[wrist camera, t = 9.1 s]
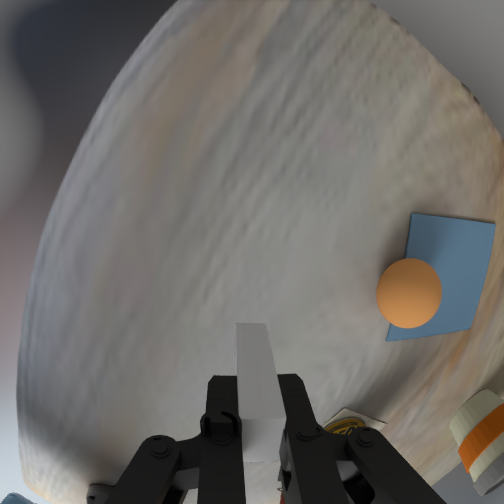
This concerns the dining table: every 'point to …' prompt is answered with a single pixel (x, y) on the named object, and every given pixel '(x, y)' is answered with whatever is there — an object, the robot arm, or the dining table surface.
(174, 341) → the dining table surface
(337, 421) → the condiment
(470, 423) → the reusable coffee cup
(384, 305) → the ball
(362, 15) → the dining table surface
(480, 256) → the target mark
